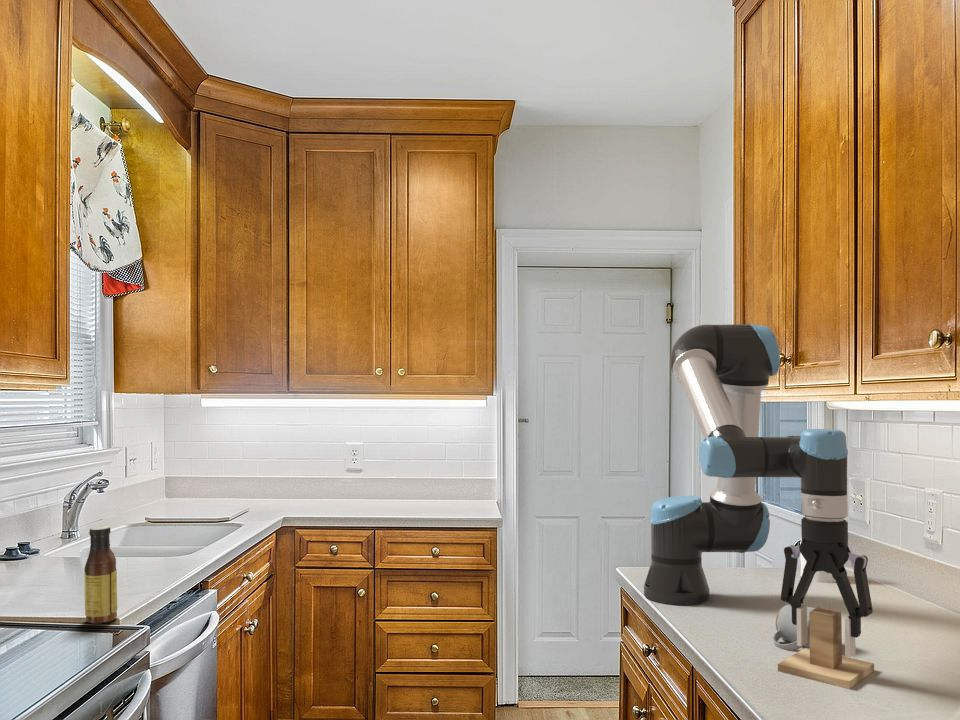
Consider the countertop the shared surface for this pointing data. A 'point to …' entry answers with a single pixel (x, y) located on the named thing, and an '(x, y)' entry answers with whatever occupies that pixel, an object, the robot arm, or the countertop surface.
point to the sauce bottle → (100, 578)
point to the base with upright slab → (817, 573)
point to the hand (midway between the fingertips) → (825, 649)
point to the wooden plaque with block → (826, 654)
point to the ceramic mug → (789, 629)
